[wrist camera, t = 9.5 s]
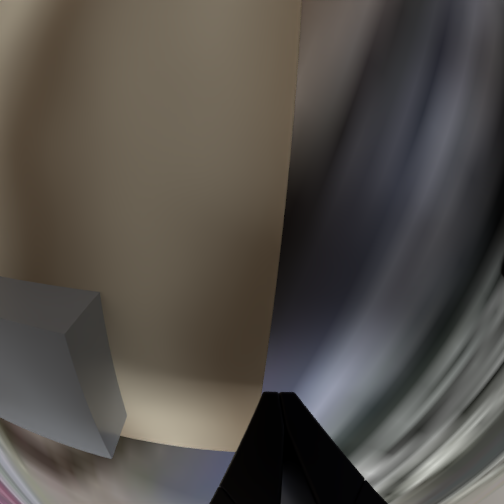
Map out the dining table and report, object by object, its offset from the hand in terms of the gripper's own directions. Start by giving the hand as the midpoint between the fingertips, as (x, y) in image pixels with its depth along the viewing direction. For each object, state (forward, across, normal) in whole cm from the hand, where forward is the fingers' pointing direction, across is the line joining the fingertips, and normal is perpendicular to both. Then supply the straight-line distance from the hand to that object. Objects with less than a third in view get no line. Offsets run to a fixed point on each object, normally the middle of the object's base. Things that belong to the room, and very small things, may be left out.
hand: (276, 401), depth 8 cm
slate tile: (+1, +7, 0) cm, 7 cm away
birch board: (+3, +6, -4) cm, 8 cm away
